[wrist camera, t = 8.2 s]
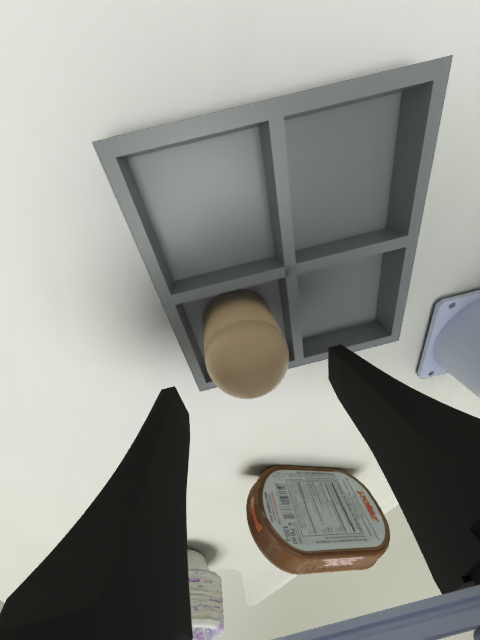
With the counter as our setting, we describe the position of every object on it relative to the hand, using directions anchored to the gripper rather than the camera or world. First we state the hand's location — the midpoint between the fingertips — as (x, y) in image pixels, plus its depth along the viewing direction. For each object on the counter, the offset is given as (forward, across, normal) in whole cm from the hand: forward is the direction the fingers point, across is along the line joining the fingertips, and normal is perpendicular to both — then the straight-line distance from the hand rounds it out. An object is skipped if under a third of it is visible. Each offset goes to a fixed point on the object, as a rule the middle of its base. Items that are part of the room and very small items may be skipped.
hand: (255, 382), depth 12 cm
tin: (+6, -3, +23) cm, 24 cm away
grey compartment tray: (+6, -3, -3) cm, 7 cm away
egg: (+6, 0, 0) cm, 6 cm away
